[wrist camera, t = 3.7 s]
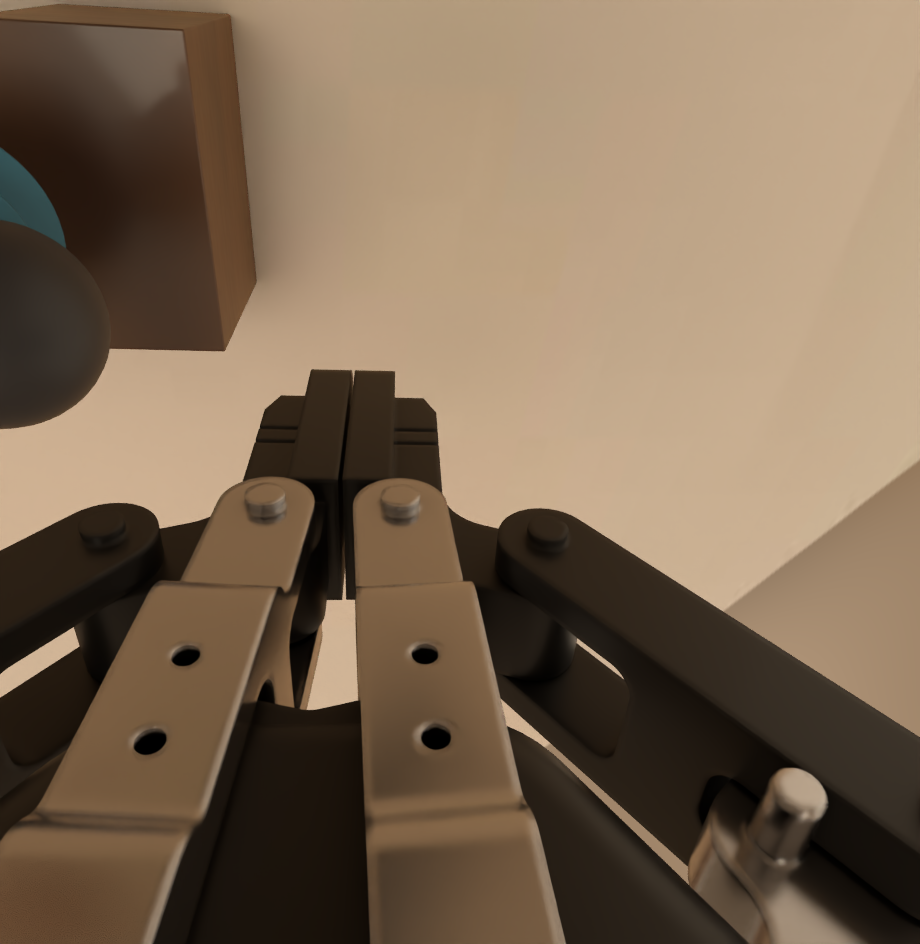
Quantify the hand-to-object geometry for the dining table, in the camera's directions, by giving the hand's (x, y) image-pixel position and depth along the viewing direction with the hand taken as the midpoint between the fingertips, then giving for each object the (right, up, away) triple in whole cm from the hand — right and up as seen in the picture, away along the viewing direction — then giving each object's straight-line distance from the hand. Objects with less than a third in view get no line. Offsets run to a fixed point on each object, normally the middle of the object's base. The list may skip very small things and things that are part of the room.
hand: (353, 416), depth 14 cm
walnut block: (-10, +11, +16) cm, 22 cm away
